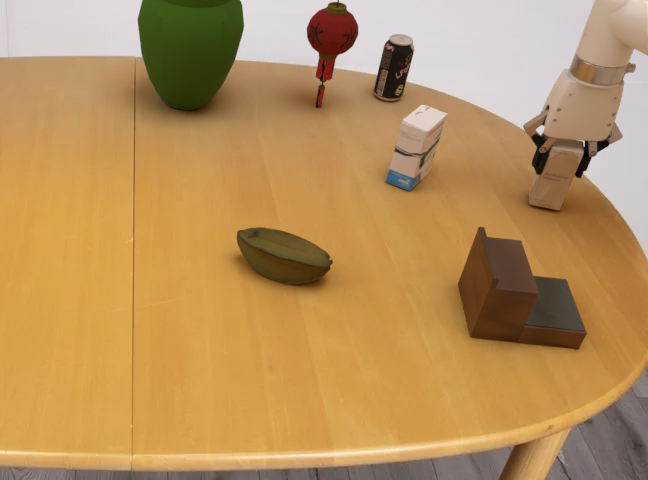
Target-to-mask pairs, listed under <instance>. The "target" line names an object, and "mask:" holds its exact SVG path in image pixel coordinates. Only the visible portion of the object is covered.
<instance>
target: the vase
mask: <svg viewBox="0 0 648 480" xmlns="http://www.w3.org/2000/svg"><path fill="white" fill-rule="evenodd" d="M244 19H245V18H244V8H243V4H242V1H241V0H141V4H140V7H139V12H138V16H137V27H138V35H139V43H140V45H139V46H140V52H141V57H142V60H143V63H144V66H145V69H146V72H147V76H148V80H149V81H150V83H151V85H152V86H153V88H154V90H155V92H156V93H157V95H158V97H159V98H160V99H161V100H162V101H163V102H164V104H166V105H167V106H169V107H171V108H174V109H176V110H181V111H193V110H197V109H200V108H202V107H204V106H205V105H207V104H208V103H209V102H210V101H211V100H213V98H214V97H215V95H216V94H217V93H218V91H219V90H220V89H221V88H222V86H224V83H225V82H226V79H227V77H228V75H229V73H230V71H231V69H232V67H233V65H234V63H235V61H236V58H237V55H238V52H239V47H240V44H241V40H242V37H243V33H244V30H245V20H244Z"/></svg>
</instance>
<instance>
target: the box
mask: <svg viewBox="0 0 648 480" xmlns="http://www.w3.org/2000/svg"><path fill="white" fill-rule="evenodd" d="M584 146H585V143H584V141H583V140H570V139H559V138H557V139H556V141H555V142H554V143H553V144H552V145H551V147H550V148H549V149H548V153H549V156H548V159H547V162H546V164H545V167H544V170H543V172H542V174H540V175H537V174H536V173H535V174H536V175H535V177H534V179H533V181H532V184H531V187H530V189H529V192H528V200H529V201H528V202H529V203H528V204H529V205H530V206H536V207H540V208H546V209H550V210H555V211H560V210H561V208H562V206H563V204H564V201H565V199H566V196H567V194H568V192H569V189H570V187H571V185H572V182H573V180H574V178H575V173H576V171H577V168H578V166H579V164H580V161H581V159H582V157H583V154H584Z"/></svg>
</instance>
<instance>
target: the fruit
mask: <svg viewBox="0 0 648 480" xmlns="http://www.w3.org/2000/svg"><path fill="white" fill-rule="evenodd" d="M236 243H237V246H238V248H239V251H240V252H241V255H242V256H243V258H244V259H245V260H246V261H247V263H248V265H250V267H252V268H253V270H255V272H257V273H259V274H260V275H262V276H263V277H266V278H267V279H270V280H272V281H274V282H277V283H281V284H286V285H293V286H295V285H302V284H307V283H311V282H313V281H316V280H318V279H321V278H323V277H324V276H325V275H326V274H327V273H329V271H330V270H331V265H333V263H334V262H333V259H330V258H331V256H330V254H329V253H328V252H327V251H326V250H324V249H323V248H321V247H320V246H319V245H317V244H315V243H314V242H312V241H310V240H308V239H306V238H303V237H301V236H298V235H297V234H294V233H291V232H289V231H284V230H281V229H276V228H268V227H262V226H261V227H259V226H258V227H250V228H245V229H239V230H237V231H236Z"/></svg>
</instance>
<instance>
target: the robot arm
mask: <svg viewBox="0 0 648 480" xmlns="http://www.w3.org/2000/svg"><path fill="white" fill-rule="evenodd" d="M634 50H636V51H638V52H640V53H642V54H644V55H646V56H648V0H594V1H593V3H592V7H591V9H590V12H589V15H588V17H587V20H586V22H585V25H584V28H583V31H582V34H581V36H580V38H579V41H578V44H577V47H576V50H575V52H574V55H573V58H572V60H571V63H570V66H569V68H564V69H563V70H562V71H561V73H560V74H559V76H558V77H557V79H556V81H555V82H554V84H553V85H552V87H551V89H550V92H549V93H548V96H547V97H546V100H545V102H544V104H543V106H542V109H541V111H540V113H539V114H538V115H536V116H535V117H533V118H531V119H530V120H529V121H527V122H526V123H524V124H523V125H522V127H523V130H524V132H525V133H526V135H527V136H528V137H529V138H530V139H531V142H533V143H534V145H535V146H536V148H535V149H536V150H535V152H534V154H533V157H532V160H531V166H532V167H533V169H534V172H535V174H537V175H540V174H542V172H543V170H544V167H545V164H546V162H547V159H548V156H549V153H548V149H549V148H550V147H551V145H552V144H553V143H554V142H555V141H556V139H557V138H559V139H570V140H579V141H583V142H584V154H583V157H582V159H581V161H580V164H579V166H578V168H577V171H576V173H575V175H574V177H575V178H577V179H581V178H582V177H583V175H584V172H587V171H588V168H589V165H590V163H591V161H592V158H595V157H596V156H597V154H598V153H599V152H601V151H603V150H605V149H606V148H608V147H609V146H610V145H612V144H615V143H616V142H618V141H620V140H622V139H623V137H624V136H623V134H622V131H621V130H620V128H619V127H618V126H619V125H617V123H616V118H617V117H618V116H617V115H618V112H619V109H620V106H621V102H622V97H623V93H624V87H625V80H624V78H625V76H626V74H634V73H635V72H636V69H637V65H636V63H631V62H630V60H631V57H632V55H633V53H634ZM541 126H543V127H544V129H543V131H542V132H541V134H540V133H539V131H537V129H538V128H539V127H541Z"/></svg>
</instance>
